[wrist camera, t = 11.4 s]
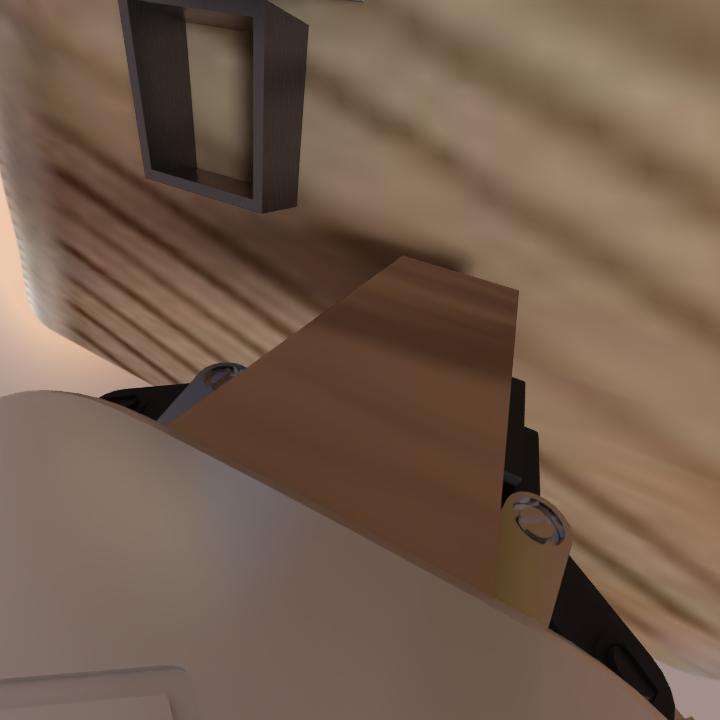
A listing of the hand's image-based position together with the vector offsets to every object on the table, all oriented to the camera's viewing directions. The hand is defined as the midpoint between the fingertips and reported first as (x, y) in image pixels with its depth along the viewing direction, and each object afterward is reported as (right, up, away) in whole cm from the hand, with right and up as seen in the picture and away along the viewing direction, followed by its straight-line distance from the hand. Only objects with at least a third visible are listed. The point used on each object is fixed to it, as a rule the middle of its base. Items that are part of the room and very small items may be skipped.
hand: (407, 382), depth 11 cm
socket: (-8, +13, +6) cm, 16 cm away
